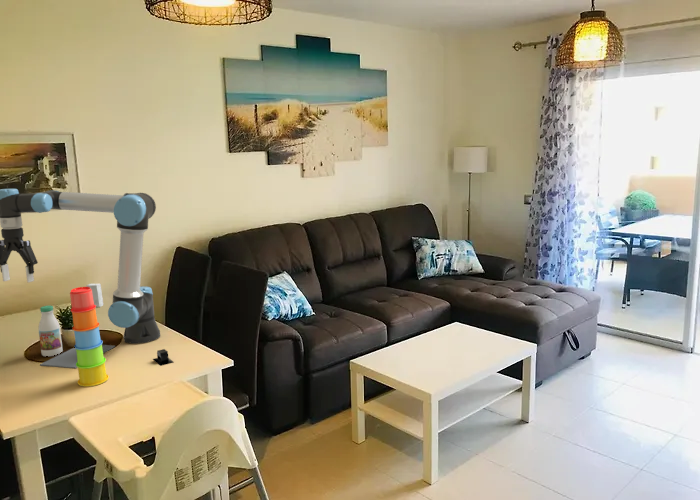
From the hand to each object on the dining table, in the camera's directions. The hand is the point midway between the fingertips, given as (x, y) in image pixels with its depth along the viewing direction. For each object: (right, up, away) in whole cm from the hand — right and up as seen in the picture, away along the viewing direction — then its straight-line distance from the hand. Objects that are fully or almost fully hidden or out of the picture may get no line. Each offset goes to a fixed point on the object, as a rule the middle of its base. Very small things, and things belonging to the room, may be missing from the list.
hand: (18, 281), depth 228 cm
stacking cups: (+42, -35, -26) cm, 61 cm away
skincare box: (-1, -18, +73) cm, 75 cm away
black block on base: (+61, -32, -8) cm, 69 cm away
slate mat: (+25, -30, -1) cm, 39 cm away
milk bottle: (+12, -30, +3) cm, 33 cm away
